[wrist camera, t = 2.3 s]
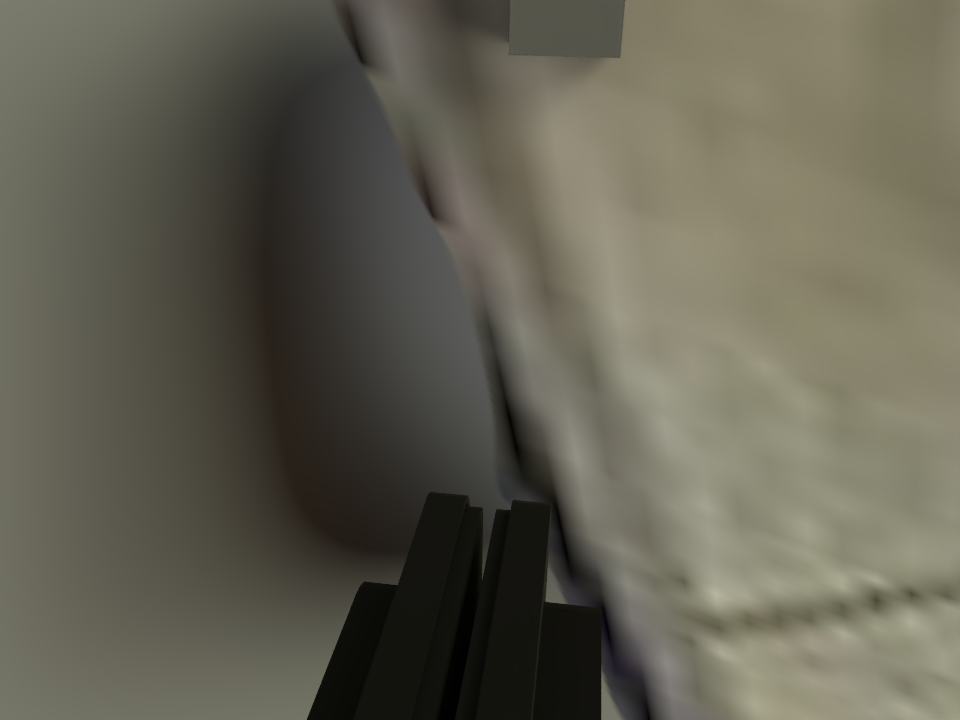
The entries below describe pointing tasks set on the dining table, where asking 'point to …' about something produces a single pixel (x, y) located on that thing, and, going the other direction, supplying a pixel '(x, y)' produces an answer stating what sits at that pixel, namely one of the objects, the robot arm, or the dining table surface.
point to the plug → (566, 27)
